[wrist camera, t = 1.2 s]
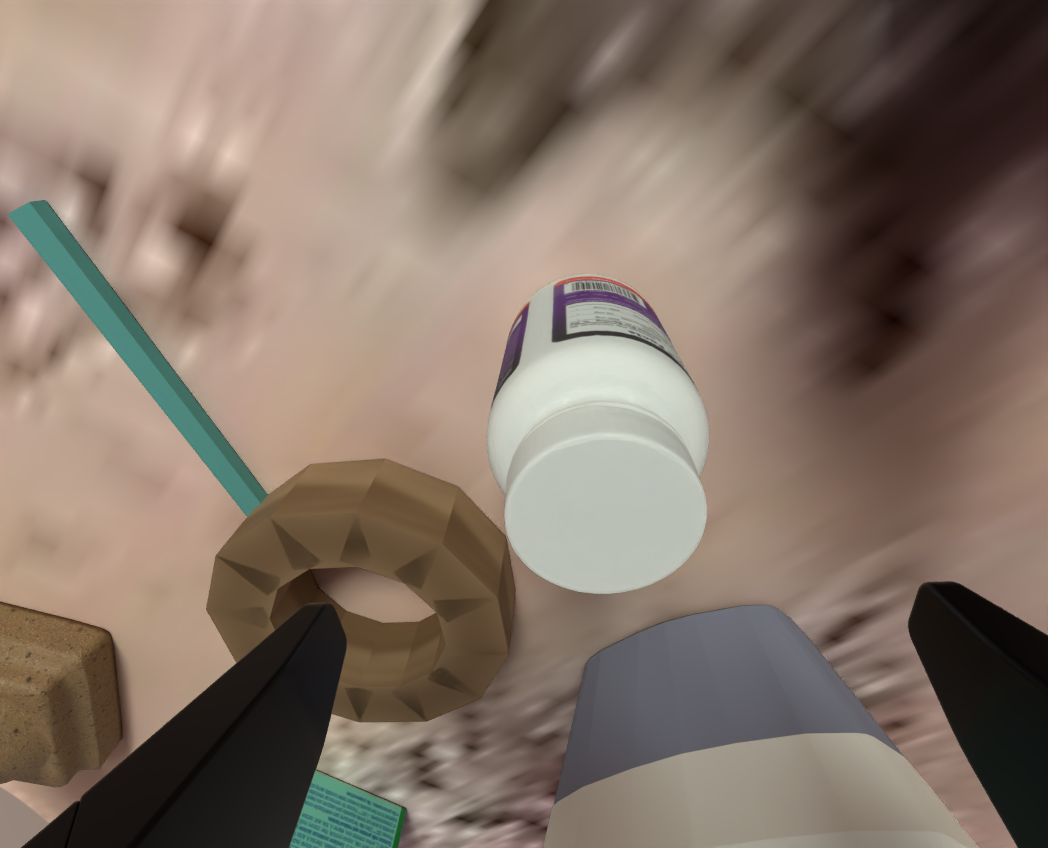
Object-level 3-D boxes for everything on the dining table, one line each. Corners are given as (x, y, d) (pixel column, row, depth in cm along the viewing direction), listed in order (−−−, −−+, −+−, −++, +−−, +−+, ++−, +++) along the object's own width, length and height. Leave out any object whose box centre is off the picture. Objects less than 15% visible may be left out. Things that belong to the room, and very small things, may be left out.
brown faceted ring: (490, 451, 21) (478, 504, 18) (526, 653, 27) (521, 720, 24) (212, 471, 23) (157, 524, 19) (302, 659, 28) (270, 723, 25)
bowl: (900, 732, 28) (1079, 1050, 18) (631, 793, 32) (661, 1076, 23) (817, 528, 22) (1019, 840, 12) (502, 638, 27) (467, 930, 17)
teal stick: (284, 517, 24) (277, 526, 23) (266, 523, 24) (259, 531, 23) (44, 199, 18) (29, 201, 17) (23, 211, 18) (7, 214, 17)
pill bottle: (566, 438, 21) (569, 652, 12) (478, 332, 19) (409, 495, 10) (690, 362, 19) (796, 550, 10) (606, 236, 17) (652, 338, 9)
